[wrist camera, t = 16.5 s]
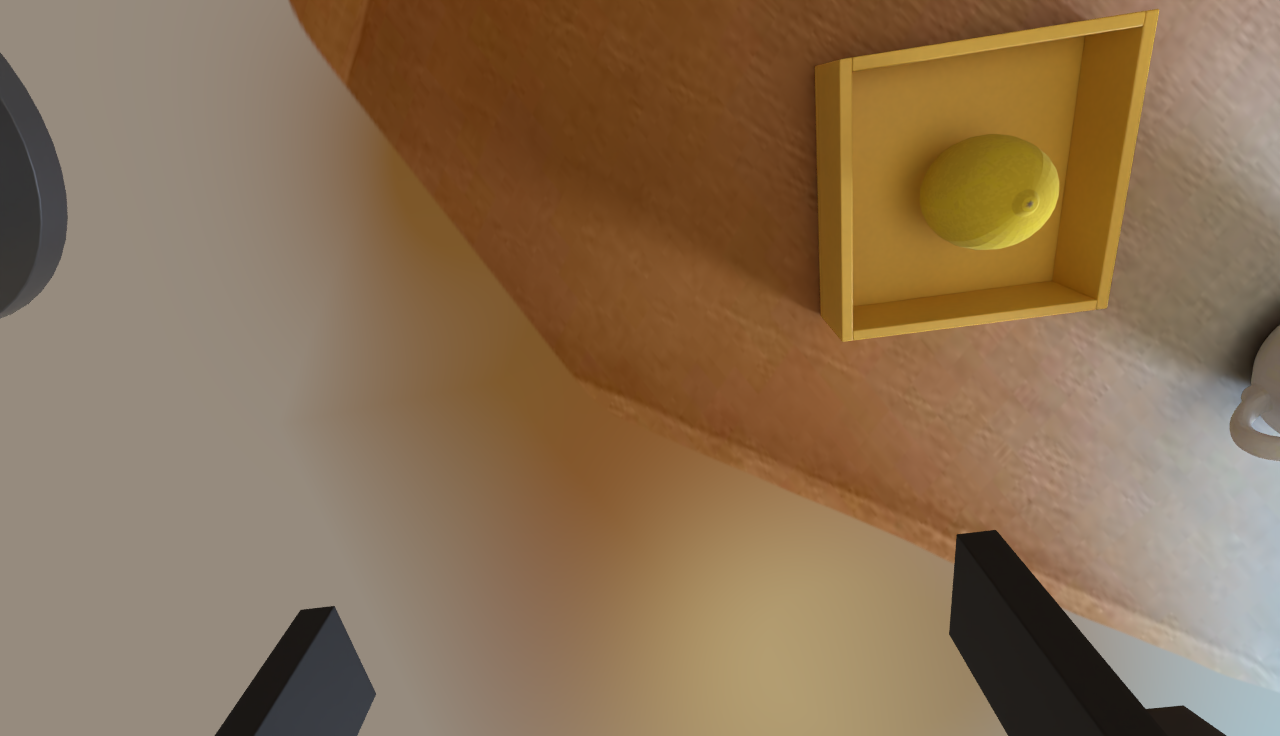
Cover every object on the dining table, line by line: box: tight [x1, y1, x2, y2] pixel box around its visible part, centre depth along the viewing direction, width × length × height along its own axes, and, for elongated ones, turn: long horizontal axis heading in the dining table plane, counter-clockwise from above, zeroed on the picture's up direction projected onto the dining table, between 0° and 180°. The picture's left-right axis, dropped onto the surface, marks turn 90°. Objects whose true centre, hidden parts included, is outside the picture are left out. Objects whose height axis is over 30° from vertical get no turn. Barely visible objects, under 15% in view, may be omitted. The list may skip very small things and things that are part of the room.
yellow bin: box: [815, 9, 1159, 342], centre depth 32 cm, size 14×14×5 cm
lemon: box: [920, 134, 1059, 250], centre depth 30 cm, size 6×6×8 cm
